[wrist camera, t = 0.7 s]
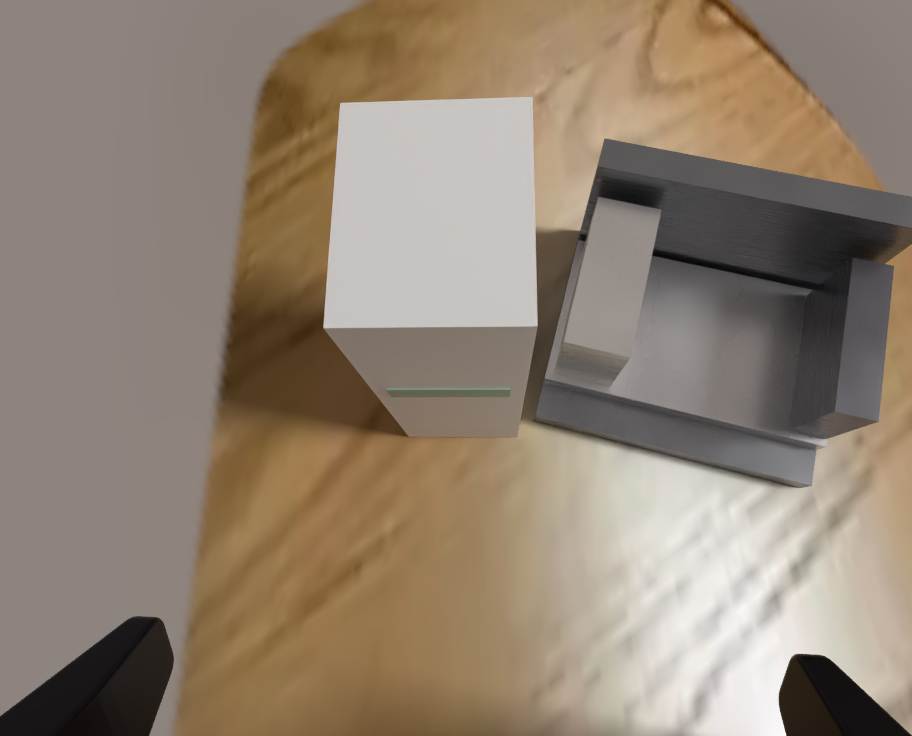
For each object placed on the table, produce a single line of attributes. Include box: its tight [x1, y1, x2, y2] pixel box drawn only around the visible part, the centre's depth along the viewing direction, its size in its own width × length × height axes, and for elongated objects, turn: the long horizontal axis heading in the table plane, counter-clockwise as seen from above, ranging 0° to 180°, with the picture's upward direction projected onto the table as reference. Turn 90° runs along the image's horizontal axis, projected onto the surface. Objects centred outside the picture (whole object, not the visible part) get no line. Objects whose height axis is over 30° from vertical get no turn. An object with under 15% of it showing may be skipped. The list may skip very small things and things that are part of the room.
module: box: [323, 97, 538, 437], centre depth 18 cm, size 5×4×12 cm
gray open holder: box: [534, 139, 912, 488], centre depth 21 cm, size 8×10×6 cm
